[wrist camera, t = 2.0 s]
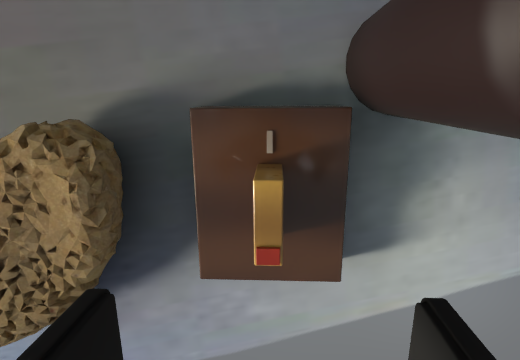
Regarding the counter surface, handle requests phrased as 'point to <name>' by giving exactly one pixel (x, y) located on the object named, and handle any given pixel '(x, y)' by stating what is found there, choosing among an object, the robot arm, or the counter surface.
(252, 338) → the counter surface
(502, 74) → the bottle
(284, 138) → the lock plate
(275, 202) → the thumbturn
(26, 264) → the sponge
